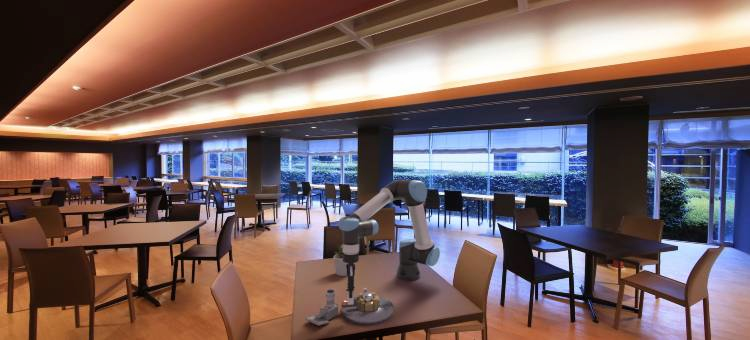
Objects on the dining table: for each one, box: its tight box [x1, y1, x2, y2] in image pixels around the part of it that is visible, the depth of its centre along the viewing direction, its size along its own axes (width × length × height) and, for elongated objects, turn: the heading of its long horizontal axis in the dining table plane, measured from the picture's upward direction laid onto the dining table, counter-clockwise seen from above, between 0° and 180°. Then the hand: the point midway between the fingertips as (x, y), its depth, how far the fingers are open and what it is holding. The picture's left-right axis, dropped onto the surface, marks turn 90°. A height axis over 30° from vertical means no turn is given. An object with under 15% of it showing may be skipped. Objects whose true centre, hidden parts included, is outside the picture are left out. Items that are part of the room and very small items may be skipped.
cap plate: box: [341, 287, 395, 326], centre depth 140 cm, size 25×25×8 cm
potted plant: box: [332, 244, 348, 277], centre depth 189 cm, size 13×14×20 cm
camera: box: [304, 288, 339, 326], centre depth 132 cm, size 9×12×15 cm
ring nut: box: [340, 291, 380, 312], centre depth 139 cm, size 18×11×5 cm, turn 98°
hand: (350, 303), depth 132 cm, fingers closed
